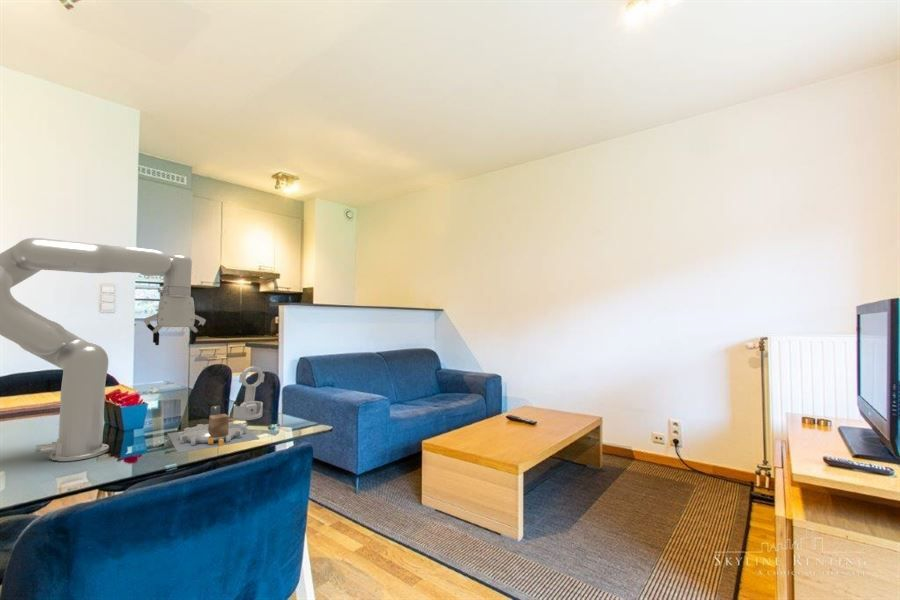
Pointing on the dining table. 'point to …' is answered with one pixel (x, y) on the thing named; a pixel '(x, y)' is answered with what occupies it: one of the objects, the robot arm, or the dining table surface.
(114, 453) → the dining table surface
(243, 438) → the base plate
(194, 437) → the sprocket
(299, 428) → the dining table surface
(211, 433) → the link block
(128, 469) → the dining table surface
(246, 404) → the engine component
